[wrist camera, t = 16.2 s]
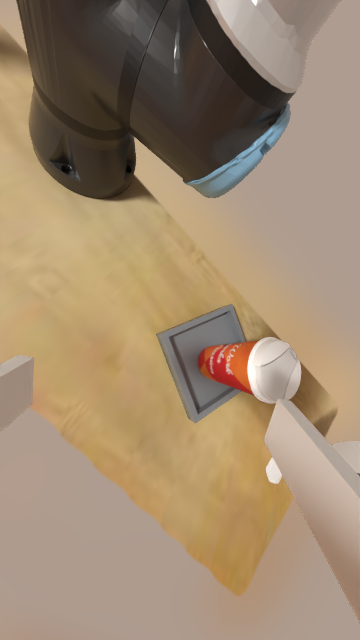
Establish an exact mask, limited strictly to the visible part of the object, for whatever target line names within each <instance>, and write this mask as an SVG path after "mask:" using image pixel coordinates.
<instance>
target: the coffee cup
mask: <svg viewBox="0 0 360 640" xmlns="http://www.w3.org/2000/svg"><path fill="white" fill-rule="evenodd" d="M296 357H297V355H296V354H295V352H294V351H293V349H291V348H290V345H289V344H288V343H286V342H284V341H281V340H279V339H277V338H274V337H265V338H263V339H261V340H259V341H251V342H242V343H232V344H223V345H215V346H209V347H206V348H205V349H203V350H202V352H201V353H200V355H199V358H198V367H199V370H200V372H201V373H202V374H203V375H204V376H205V377H207V378H209V379H211V380H214V381H216V382H219V383H222V384H224V385H227V386H230V387H233V388H235V389H238V390H241V391H244V392H246V393H249V394H252V395H255V396H256V398H258V399H259V400H260V401H263V402H266V403H270V404H274V403H277V400H278V399H282V400H289V399H291V398H292V397H293V396H294V395H295V393H296V392H297V390H298V387H299V385H300V380H301V365H300V361H299V359H297V358H296Z"/></svg>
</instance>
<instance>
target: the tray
mask: <svg viewBox="0 0 360 640" xmlns="http://www.w3.org/2000/svg"><path fill="white" fill-rule="evenodd" d="M156 335H157V337H158V340H159V343H160V345H161V348H162V350H163V353H164V356H165V358H166V361H167V364H168V366H169V369H170V371H171V374H172V377H173V379H174V382H175V384H176V387H177V390H178V392H179V395H180V398H181V400H182V403H183V405H184V408H185V411H186V413H187V416H188V418H189V419H190V420H191V421H193V422H194V423H197V422H198V421H199V420H201V419H202V418H204V417H205V416H207V415H208V414H209V413H211V412H212V411H214V410H215V409H217V408H218V407H219V406H221V405H222V404H224V403H225V402H227V401H228V400H229V399H231V398H232V397H234V396H235V395H237V394H238V393H239V392H241V390H238V389H235V388H233V387H230V386H227V385H224V384H222V383H219V382H216V381H214V380H211V379H209V378H207V377H205V376H204V375H203V374H202V373H201V372H200V370H199V367H198V358H199V355H200V353H201V352H202V350H203V349H205V348H206V347H209V346H215V345H223V344H232V343H242V342H246V341H245V338H244V335H243V332H242V330H241V327H240V324H239V321H238V319H237V316H236V313H235V310H234V307H233V305H232V304H230V305H227V306H224V307H221V308H219V309H216V310H214V311H212V312H209V313H207V314H204V315H202V316H199V317H197V318H195V319H192V320H190V321H187V322H185V323H182V324H180V325H178V326H175V327H173V328H170V329H168V330H165V331H163V332H161V333H158V334H156Z"/></svg>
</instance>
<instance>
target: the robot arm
mask: <svg viewBox="0 0 360 640" xmlns="http://www.w3.org/2000/svg"><path fill="white" fill-rule="evenodd" d="M16 1H17V6H18V10H19V15H20V20H21V24H22V29H23V33H24V39H25V43H26V48H27V53H28V57H29V62H30V67H31V71H32V76H33V82H34V87H33V94H32V101H31V108H30V115H29V131H30V136H31V140H32V144H33V147H34V151H35V153H36V156H37V158H38V159H39V161H40V163H41V164H42V166H43V167H44V168H45V170H46V171H47V172H48V173H49V174H50V175H51V176H52V177H53V178H54V179H55V180H57V181H58V182H59V183H60V184H62V185H63V186H65V187H66V188H68V189H70V190H72V191H74V192H76V193H79V194H81V195H85V196H88V197H94V198H108V197H113V196H116V195H118V194H120V193H122V192H123V191H124V190H126V189H127V187H128V186H129V185H130V183H131V181H132V178H133V174H134V170H135V165H136V153H135V143H134V137H135V138H137V139H138V140H139V141H140V142H141V143H142V144H144V145H145V146H146V147H147V148H148V149H149V150H151V151H152V152H153V153H154V154H155V155H156V156H157V157H159V158H160V159H161V160H162V161H163V162H164V163H166V164H167V165H168V166H169V167H170V168H171V169H173V170H174V171H175V172H176V173H177V174H178V175H180V176H181V177H182V178H183V181H184V183H185V184H187V185H190V186H192V187H193V188H195V189H196V190H197V191H198V192H200V193H201V194H202V195H203V196H205V197H208V198H211V197H212V198H216V197H219V196H221V195H223V194H225V193H226V192H228V191H229V190H231V189H232V188H233V187H235V186H236V185H237V184H238V183H239V182H241V181H242V180H243V179H244V178H245V177H246V176H247V175H248V174H249V173H250V172H251V171H252V170H253V169H254V168H255V167H256V166H257V165H258V164H259V163H260V162H261V160H262V158H263V156H264V154H266V153H267V152H268V151H269V150H270V149H271V148H272V147H273V146H274V145H275V144H276V142H277V141H278V140H279V138H280V137H281V135H282V134H283V132H284V131H285V129H286V127H287V125H288V123H289V119H290V114H291V113H290V105H289V104H288V101H289V100H290V98H291V97H292V96H293V95H294V93H295V92H296V91H297V90H298V88H299V87H300V85H301V84H302V80H303V75H304V69H305V64H306V59H307V54H308V50H309V47H310V44H311V41H312V40H313V38H314V37H315V35H316V34H317V33H318V31H319V30H320V29H321V27H322V26H323V24H324V23H325V22H326V20H327V19H328V18H329V16H330V15H331V14H332V12H333V11H334V9H335V8H336V7H337V5H338V4H339V3H340V1H341V0H16ZM33 369H34V357H28V356H22V355H18V356H16V357H14V358H12V359H10V360H8V361H6V362H4V363H2V364H0V432H1V431H2V430H4V429H5V428H6V427H7V426H8V425H9V424H10V423H11V422H13V421H14V420H15V419H16V418H17V417H18V416H19V415H20V414H22V413H23V412H24V411H25V410H26V409H27V408H28V407H30V406H31V405H32V394H33ZM264 442H265V444H266V445H267V447H268V449H269V451H270V453H271V455H272V457H273V459H274V461H275V463H276V464H277V466H278V468H279V470H280V472H281V474H282V476H283V478H284V480H285V482H286V483H287V485H288V487H289V489H290V491H291V493H292V495H293V497H294V499H295V500H296V502H297V504H298V506H299V508H300V510H301V512H302V514H303V516H304V518H305V519H306V521H307V523H308V525H309V527H310V529H311V531H312V533H313V535H314V537H315V538H316V540H317V542H318V544H319V546H320V548H321V550H322V552H323V553H324V555H325V557H326V559H327V561H328V563H329V565H330V567H331V569H332V571H333V573H334V574H335V576H336V578H337V580H338V582H339V584H340V586H341V588H342V590H343V592H344V593H345V595H346V597H347V599H348V601H349V603H350V605H351V607H352V609H353V610H354V612H355V614H356V616H357V618H358V620H359V622H360V474H359V473H356V472H355V471H354V470H353V468H352V467H351V466H350V465H349V464H348V463H347V462H346V461H345V460H344V459H343V457H342V456H341V455H340V454H339V453H338V452H337V451H336V450H335V449H334V448H333V446H332V445H331V444H330V443H329V442H328V441H327V440H326V439H325V438H324V437H323V436H322V434H321V433H320V432H319V431H318V430H317V429H316V428H315V427H314V426H313V425H312V423H311V422H310V421H309V420H308V419H307V418H306V417H305V416H304V415H303V414H302V412H301V411H300V410H299V409H298V408H297V407H296V406H295V405H294V404H293V403H292V401H288V400H282V399H278V400H277V403H276V406H275V409H274V412H273V415H272V418H271V420H270V423H269V426H268V429H267V432H266V435H265V438H264Z"/></svg>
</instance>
